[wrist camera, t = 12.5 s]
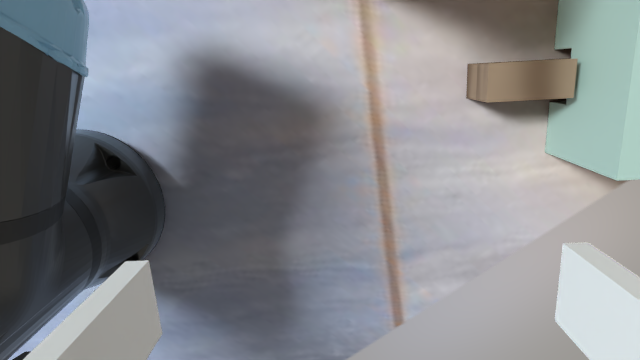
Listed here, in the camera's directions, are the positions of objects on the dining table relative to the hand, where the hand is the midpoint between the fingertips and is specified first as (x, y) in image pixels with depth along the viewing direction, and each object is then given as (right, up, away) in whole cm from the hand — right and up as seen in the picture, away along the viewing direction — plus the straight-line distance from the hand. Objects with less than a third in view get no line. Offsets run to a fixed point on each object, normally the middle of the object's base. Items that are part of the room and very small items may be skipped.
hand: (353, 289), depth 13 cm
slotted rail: (+21, +13, +24) cm, 34 cm away
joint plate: (+21, +13, +24) cm, 34 cm away
